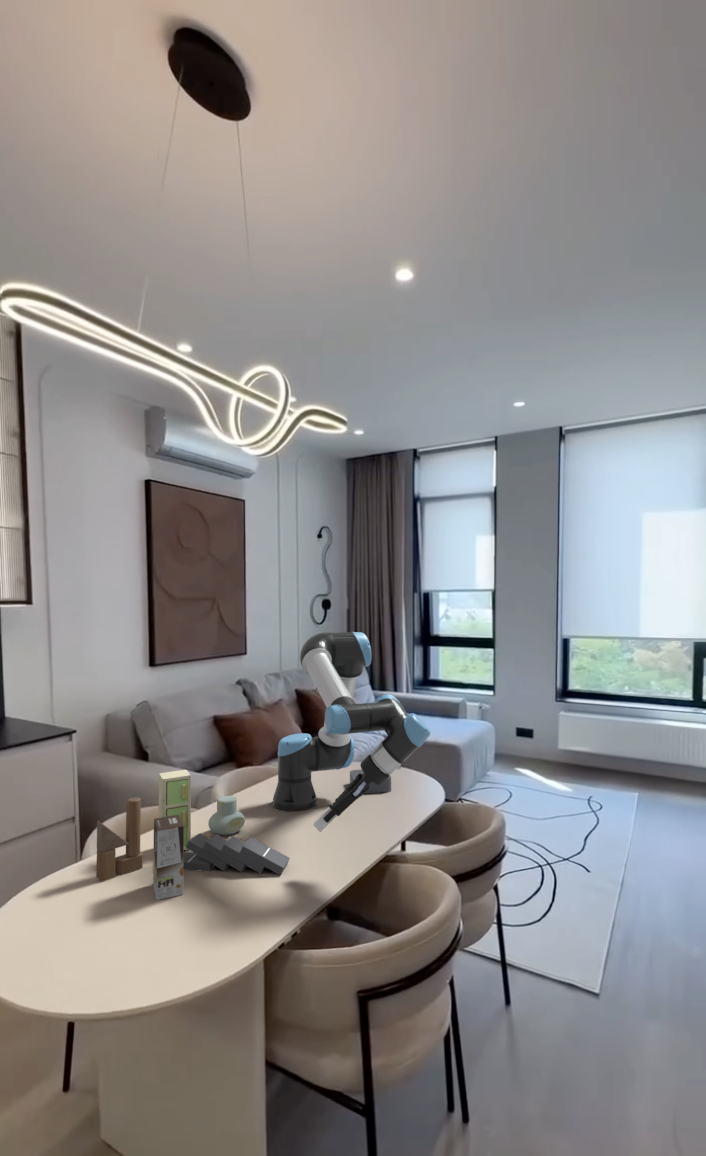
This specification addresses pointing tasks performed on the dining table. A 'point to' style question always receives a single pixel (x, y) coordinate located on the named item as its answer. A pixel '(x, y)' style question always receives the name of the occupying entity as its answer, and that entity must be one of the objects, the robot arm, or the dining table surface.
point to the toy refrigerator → (176, 798)
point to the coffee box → (168, 856)
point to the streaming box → (373, 787)
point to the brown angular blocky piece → (120, 845)
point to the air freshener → (226, 817)
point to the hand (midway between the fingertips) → (317, 827)
